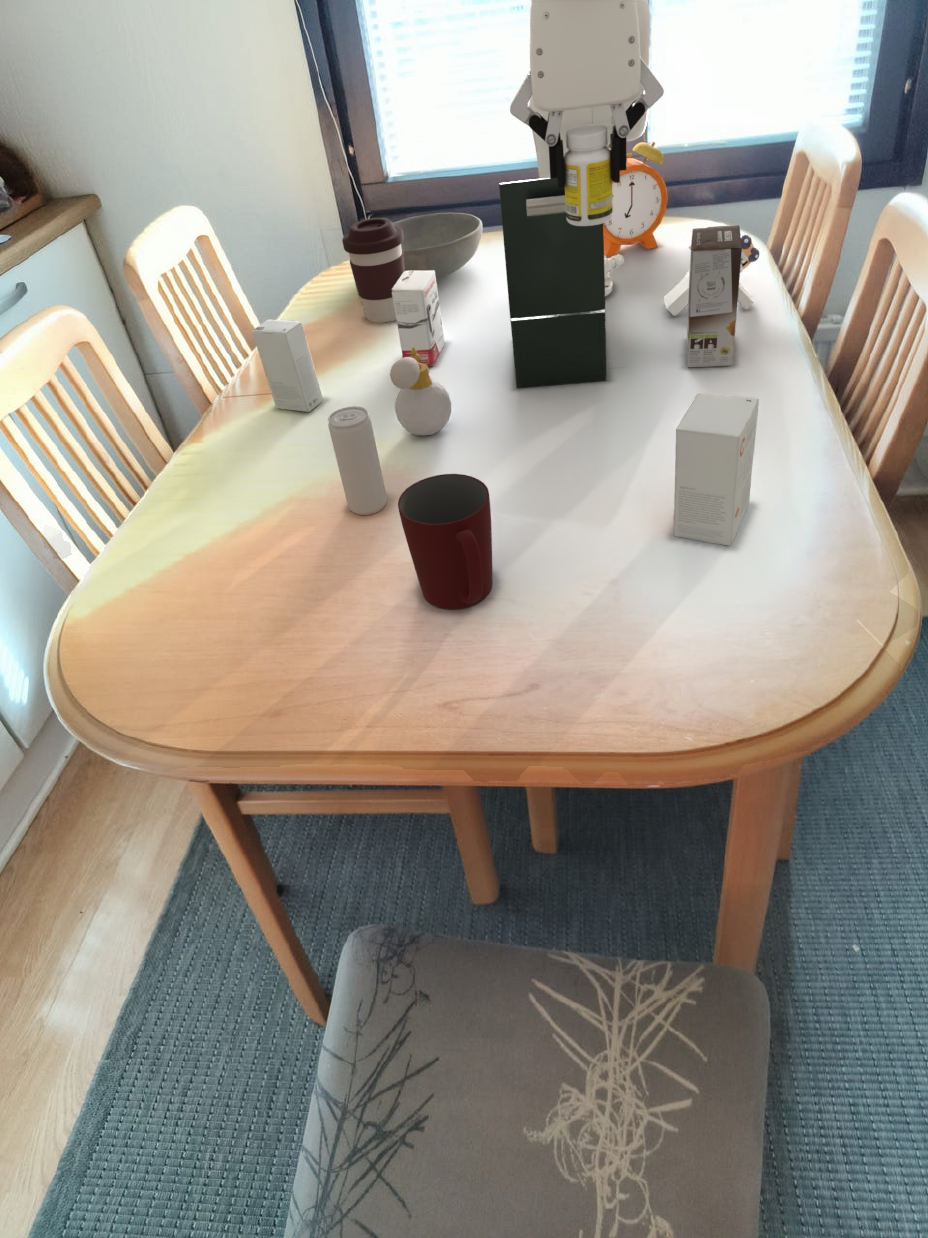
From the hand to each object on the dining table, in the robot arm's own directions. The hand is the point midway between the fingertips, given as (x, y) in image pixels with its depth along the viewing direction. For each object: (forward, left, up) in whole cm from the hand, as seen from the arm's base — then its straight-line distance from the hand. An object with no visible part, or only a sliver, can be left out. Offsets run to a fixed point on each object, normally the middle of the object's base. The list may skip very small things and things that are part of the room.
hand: (588, 179), depth 89 cm
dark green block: (-10, -18, -13) cm, 24 cm away
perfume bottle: (+12, -20, -32) cm, 39 cm away
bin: (-14, -23, -31) cm, 42 cm away
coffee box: (-29, -8, -32) cm, 44 cm away
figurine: (-41, -19, -32) cm, 55 cm away
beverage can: (+27, -11, -32) cm, 43 cm away
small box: (+2, +20, -32) cm, 37 cm away
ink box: (-2, -41, -32) cm, 52 cm away
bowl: (-23, -70, -32) cm, 80 cm away
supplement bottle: (0, 0, -4) cm, 4 cm away
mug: (+29, +11, -32) cm, 44 cm away
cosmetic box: (+20, -42, -32) cm, 56 cm away
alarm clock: (-53, -49, -32) cm, 79 cm away
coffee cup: (-7, -60, -32) cm, 68 cm away
